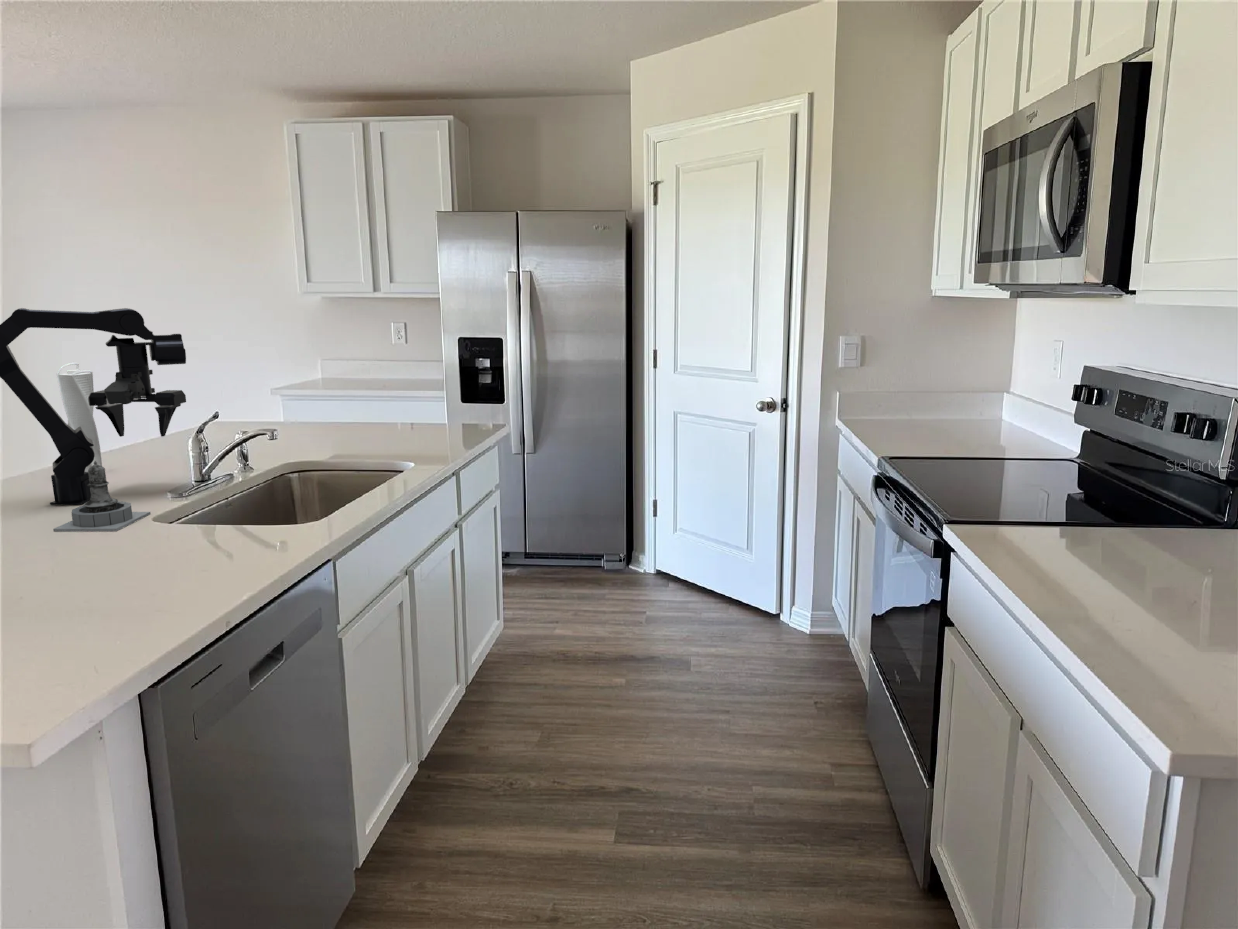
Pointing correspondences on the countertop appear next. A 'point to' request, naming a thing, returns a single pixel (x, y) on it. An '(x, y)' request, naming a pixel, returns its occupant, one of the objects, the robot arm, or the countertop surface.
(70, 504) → the robot arm
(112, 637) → the countertop surface
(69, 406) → the skyscraper
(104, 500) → the salt shaker
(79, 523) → the collar
